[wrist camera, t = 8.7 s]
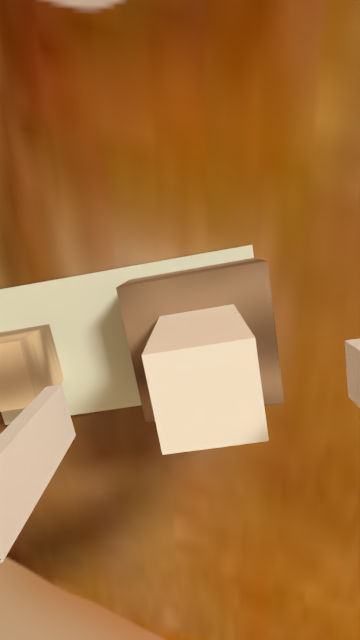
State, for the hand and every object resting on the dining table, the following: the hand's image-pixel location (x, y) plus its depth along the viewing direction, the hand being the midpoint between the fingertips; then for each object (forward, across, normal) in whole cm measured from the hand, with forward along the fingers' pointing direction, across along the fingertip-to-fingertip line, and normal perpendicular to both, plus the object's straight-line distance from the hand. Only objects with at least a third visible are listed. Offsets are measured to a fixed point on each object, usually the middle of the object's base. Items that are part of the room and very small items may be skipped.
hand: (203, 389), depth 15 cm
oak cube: (+13, -15, -1) cm, 20 cm away
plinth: (+13, 0, -1) cm, 13 cm away
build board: (+13, -7, -1) cm, 15 cm away
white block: (+8, 0, 0) cm, 8 cm away
